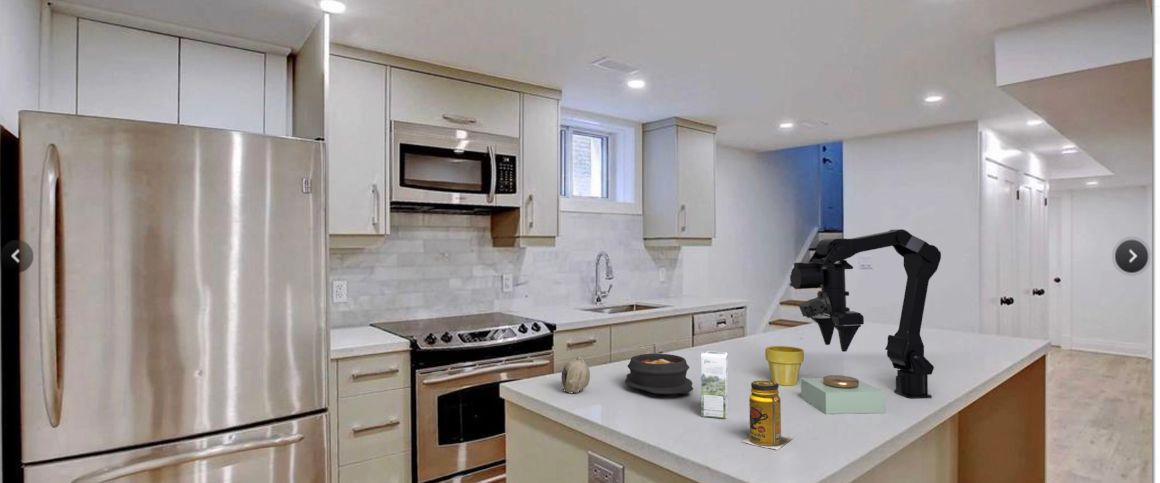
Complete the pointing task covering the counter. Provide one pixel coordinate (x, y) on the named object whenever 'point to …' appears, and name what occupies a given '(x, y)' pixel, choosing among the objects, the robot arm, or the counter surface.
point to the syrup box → (714, 384)
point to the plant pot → (784, 363)
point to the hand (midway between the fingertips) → (835, 348)
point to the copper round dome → (841, 381)
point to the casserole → (659, 374)
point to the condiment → (765, 416)
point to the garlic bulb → (575, 375)
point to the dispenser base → (842, 397)
